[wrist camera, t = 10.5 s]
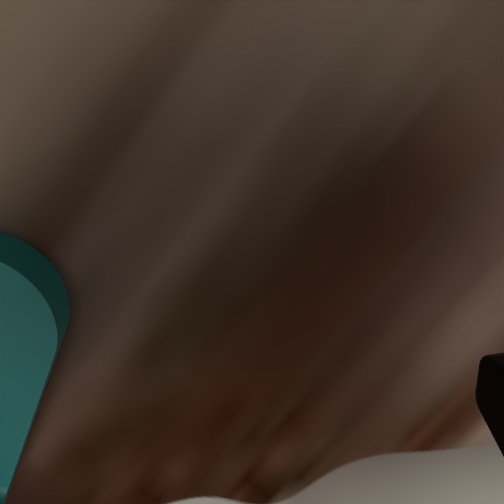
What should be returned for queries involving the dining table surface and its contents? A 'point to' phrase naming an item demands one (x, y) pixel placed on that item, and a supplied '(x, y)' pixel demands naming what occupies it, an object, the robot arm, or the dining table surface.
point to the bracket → (25, 344)
